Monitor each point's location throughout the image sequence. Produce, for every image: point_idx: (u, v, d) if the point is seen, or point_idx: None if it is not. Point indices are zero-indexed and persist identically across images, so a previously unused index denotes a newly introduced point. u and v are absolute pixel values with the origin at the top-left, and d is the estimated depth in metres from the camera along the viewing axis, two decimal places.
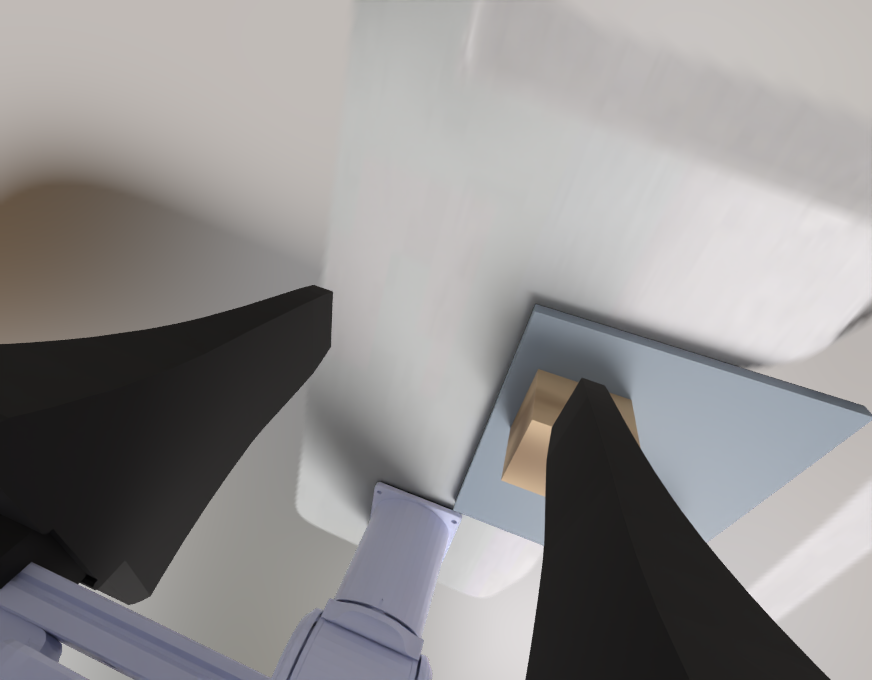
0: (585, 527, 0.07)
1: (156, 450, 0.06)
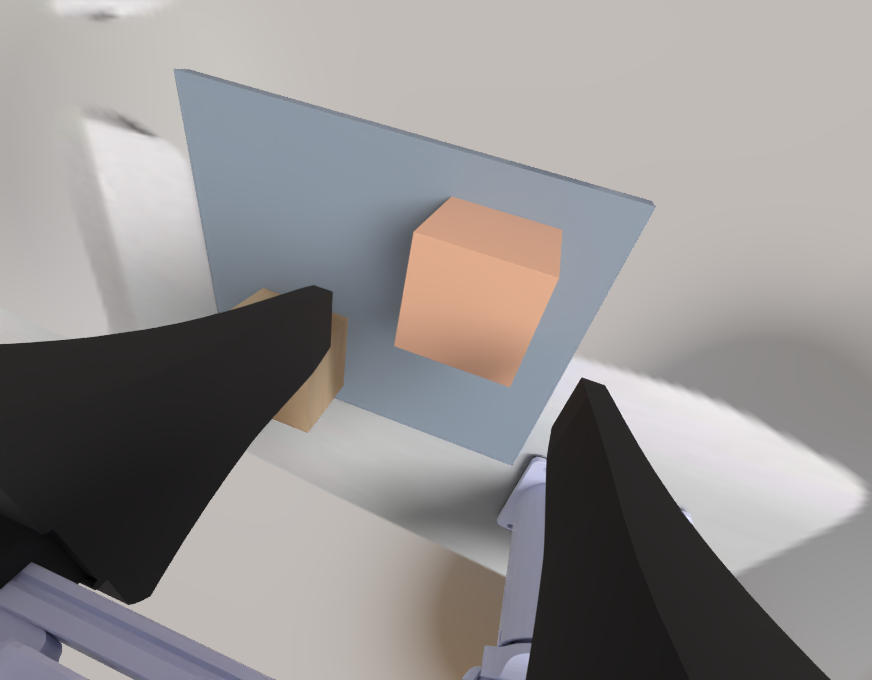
0: (585, 527, 0.07)
1: (156, 450, 0.06)
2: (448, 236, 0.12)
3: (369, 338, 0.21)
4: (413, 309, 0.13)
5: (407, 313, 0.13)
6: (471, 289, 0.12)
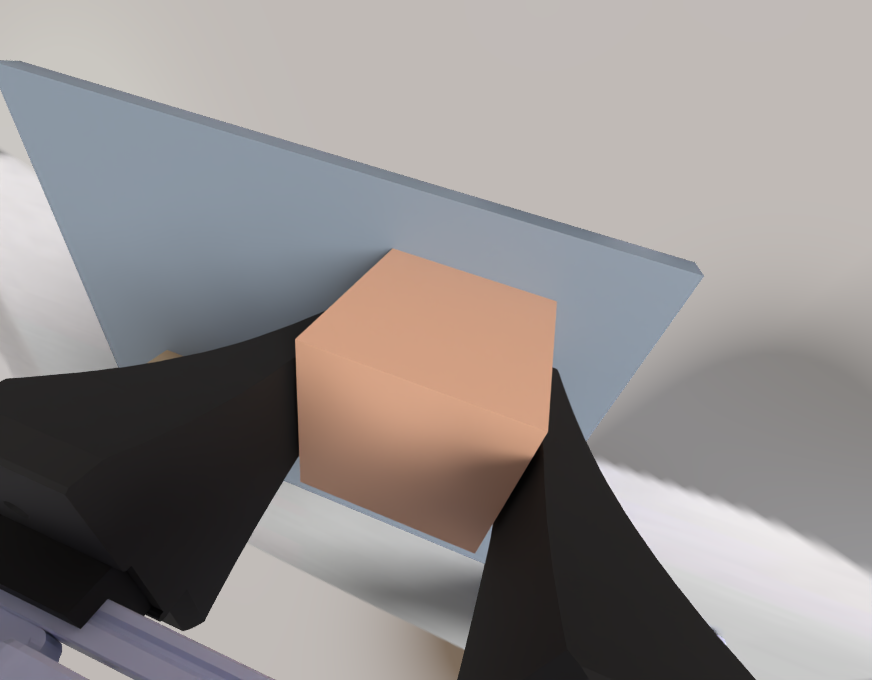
0: (520, 502, 0.07)
1: (220, 477, 0.06)
2: (360, 342, 0.07)
3: None
4: (317, 442, 0.08)
5: (310, 446, 0.08)
6: (400, 429, 0.07)
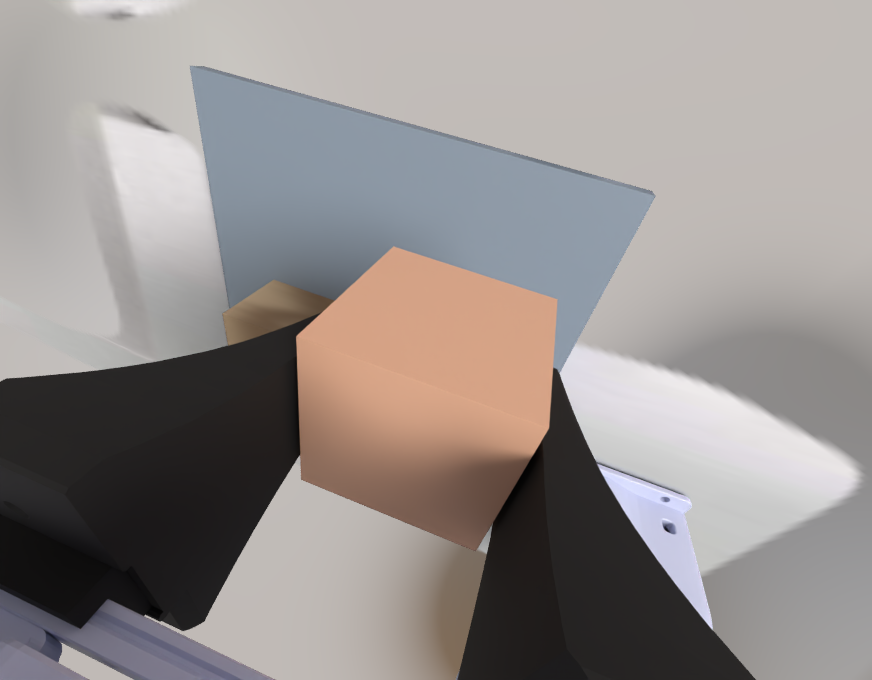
0: (520, 502, 0.07)
1: (220, 477, 0.06)
2: (361, 338, 0.07)
3: None
4: (318, 440, 0.08)
5: (311, 444, 0.08)
6: (401, 426, 0.07)
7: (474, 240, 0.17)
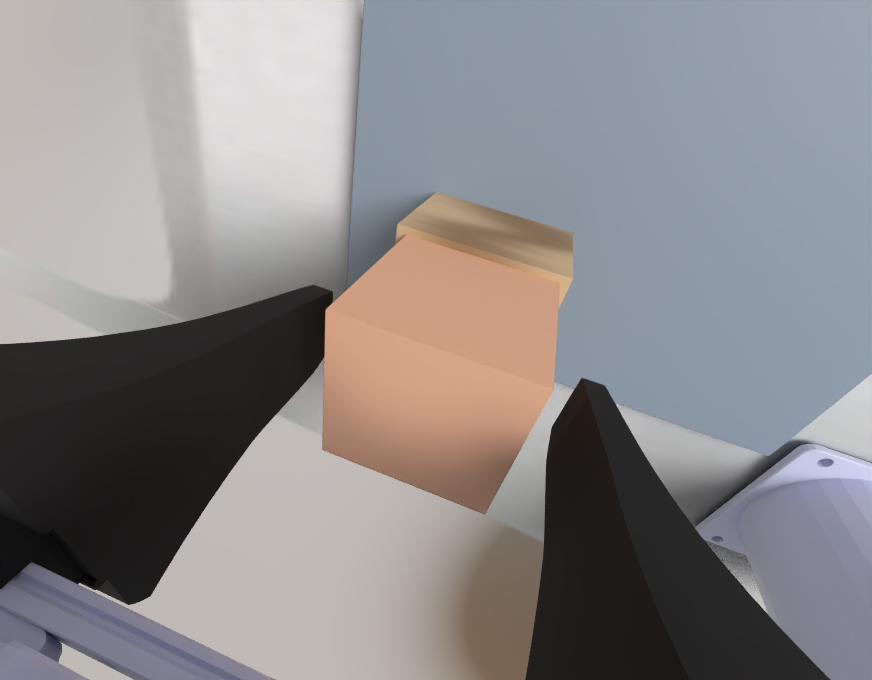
0: (585, 527, 0.07)
1: (156, 450, 0.06)
2: (383, 313, 0.08)
3: (598, 265, 0.14)
4: (340, 409, 0.09)
5: (333, 413, 0.09)
6: (419, 393, 0.08)
7: None
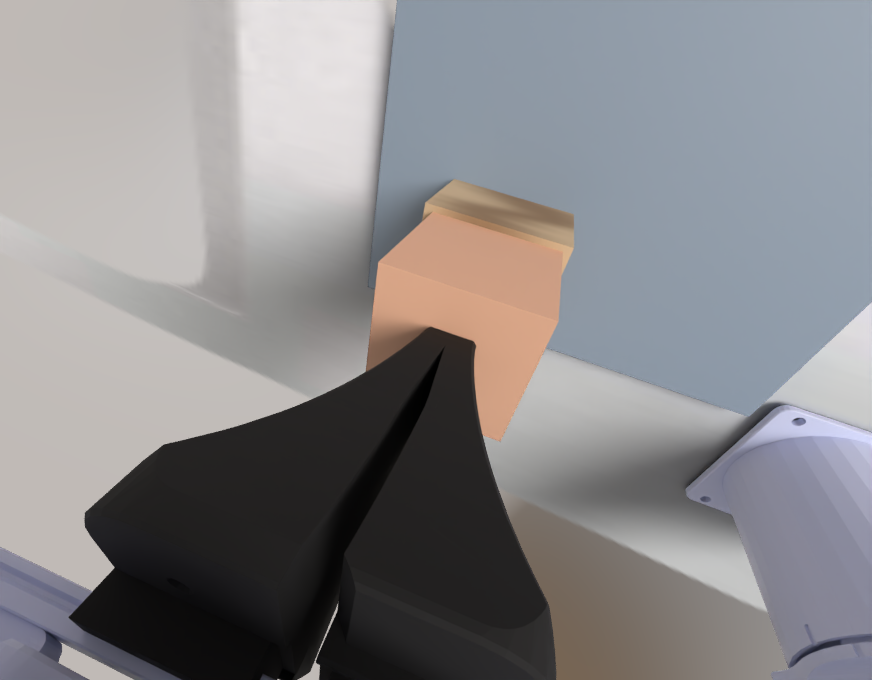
0: None
1: (347, 531, 0.06)
2: (422, 266, 0.10)
3: (596, 243, 0.16)
4: (383, 351, 0.11)
5: (376, 355, 0.11)
6: (450, 331, 0.10)
7: (825, 81, 0.11)
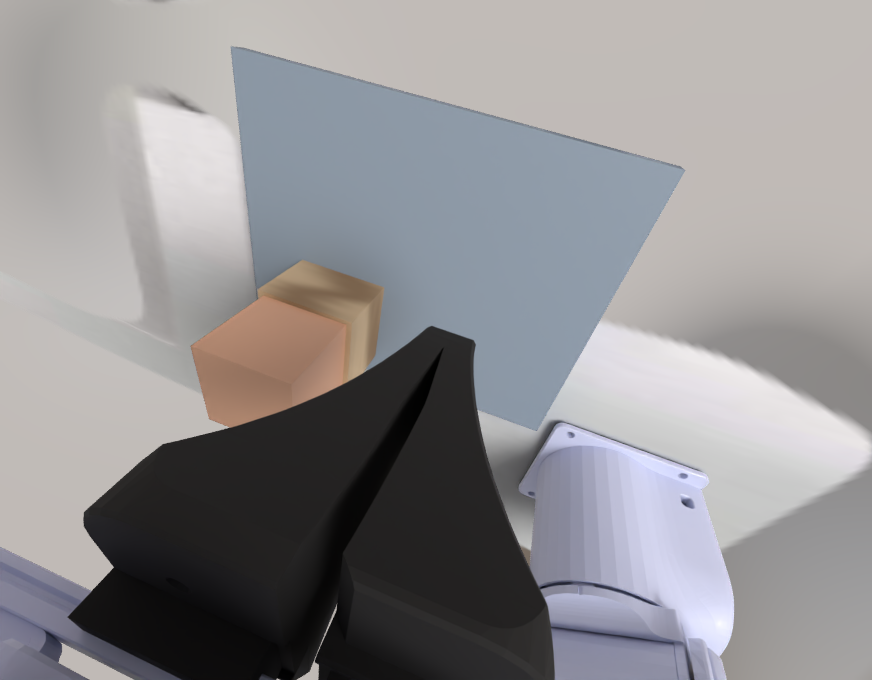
0: None
1: (347, 531, 0.06)
2: (221, 347, 0.16)
3: (403, 307, 0.22)
4: (211, 395, 0.17)
5: (208, 398, 0.17)
6: (241, 386, 0.16)
7: (504, 217, 0.17)
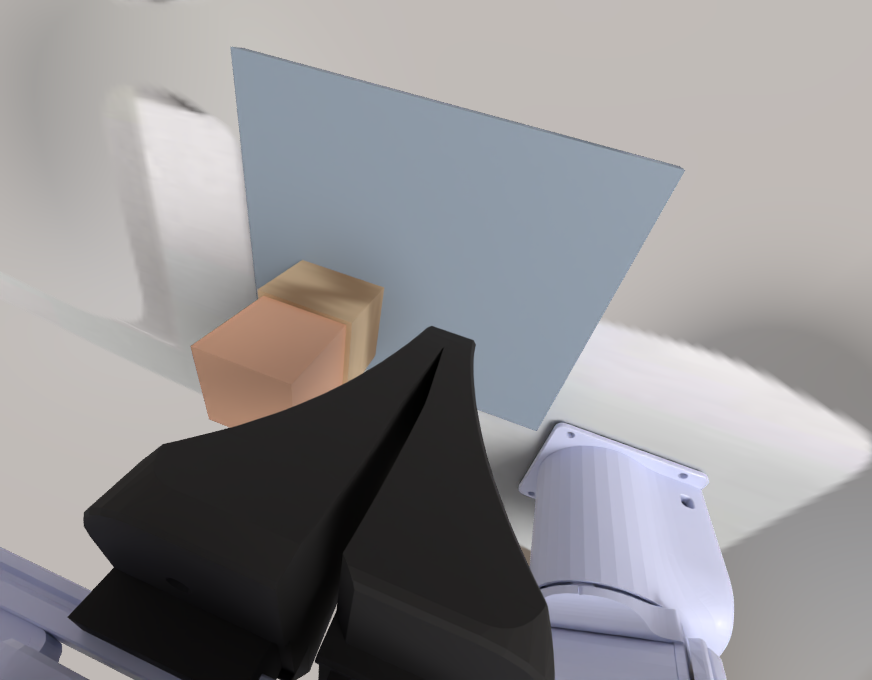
0: None
1: (347, 531, 0.06)
2: (221, 347, 0.16)
3: (403, 307, 0.22)
4: (211, 395, 0.17)
5: (208, 398, 0.17)
6: (241, 386, 0.16)
7: (504, 217, 0.17)
